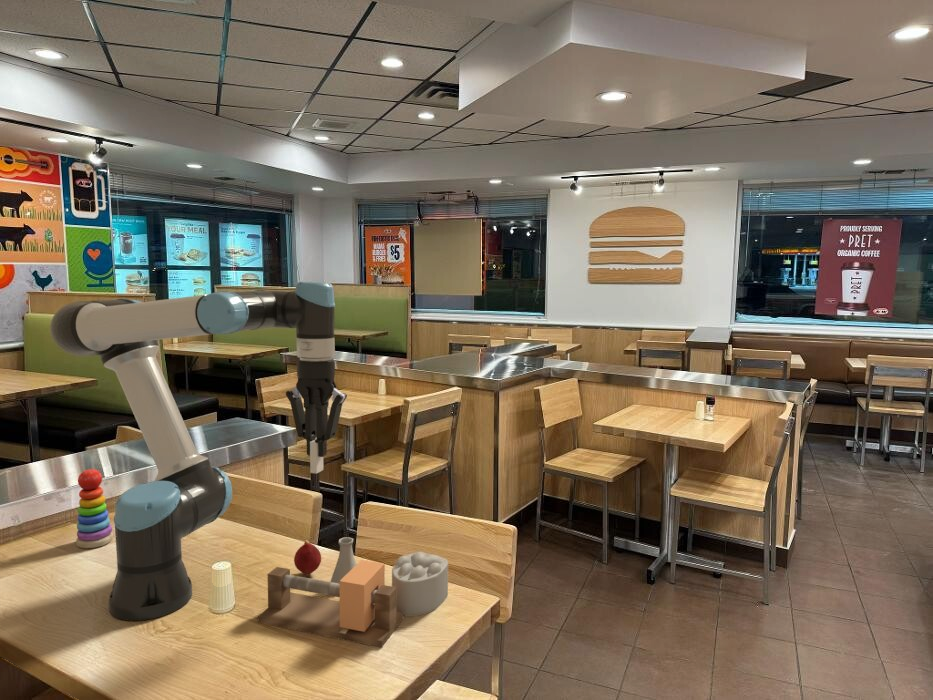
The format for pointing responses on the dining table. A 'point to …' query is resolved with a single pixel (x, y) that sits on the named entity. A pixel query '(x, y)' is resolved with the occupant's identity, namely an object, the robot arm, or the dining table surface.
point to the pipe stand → (325, 609)
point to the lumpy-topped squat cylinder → (420, 583)
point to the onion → (307, 558)
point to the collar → (360, 594)
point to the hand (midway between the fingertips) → (316, 471)
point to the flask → (344, 560)
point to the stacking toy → (92, 512)
